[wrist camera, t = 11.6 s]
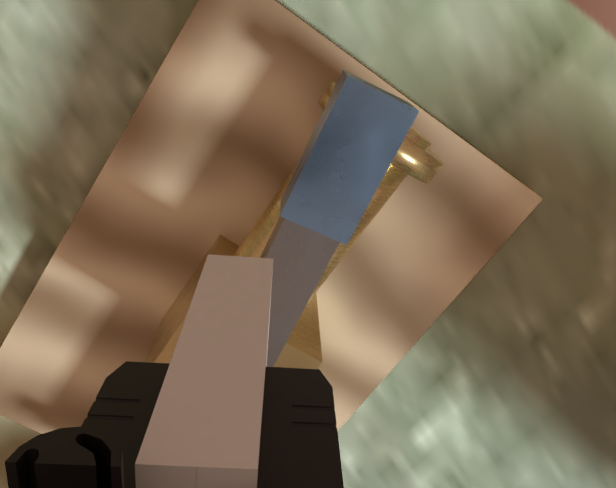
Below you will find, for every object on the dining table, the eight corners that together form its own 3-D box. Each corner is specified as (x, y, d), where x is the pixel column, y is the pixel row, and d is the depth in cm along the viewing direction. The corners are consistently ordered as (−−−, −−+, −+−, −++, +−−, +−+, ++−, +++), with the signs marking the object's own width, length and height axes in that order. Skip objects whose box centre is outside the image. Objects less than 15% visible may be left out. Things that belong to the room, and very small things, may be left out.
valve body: (171, 473, 42) (145, 577, 34) (83, 432, 40) (36, 532, 33) (431, 138, 33) (473, 180, 25) (331, 66, 31) (345, 87, 23)
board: (251, 513, 45) (249, 530, 43) (-19, 386, 39) (-30, 400, 38) (533, 190, 35) (542, 198, 33) (224, -38, 29) (220, -40, 28)
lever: (248, 428, 30) (245, 463, 28) (168, 400, 29) (158, 433, 27) (422, 109, 23) (436, 120, 21) (326, 61, 23) (330, 67, 20)
